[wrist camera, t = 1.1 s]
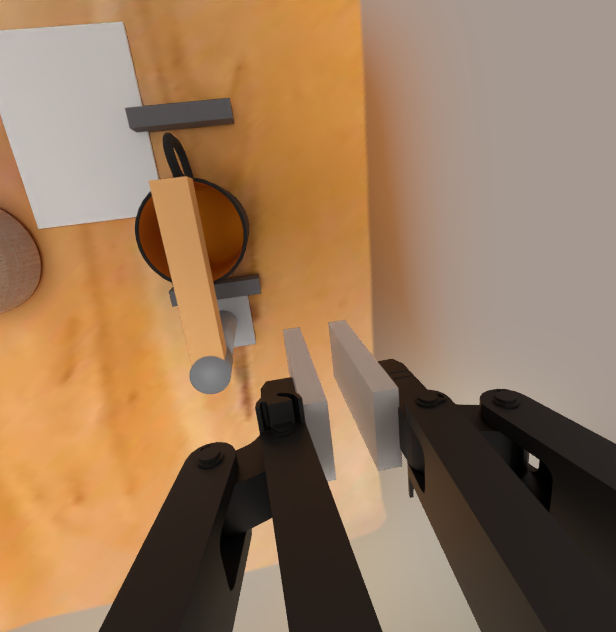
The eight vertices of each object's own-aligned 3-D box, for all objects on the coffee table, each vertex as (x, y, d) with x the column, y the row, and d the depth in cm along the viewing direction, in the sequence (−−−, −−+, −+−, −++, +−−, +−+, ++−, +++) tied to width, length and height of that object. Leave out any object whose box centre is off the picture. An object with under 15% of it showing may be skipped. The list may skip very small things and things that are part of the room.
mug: (224, 135, 36) (213, 109, 26) (258, 256, 39) (259, 273, 30) (139, 155, 35) (95, 136, 25) (181, 275, 39) (157, 299, 29)
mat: (-24, 34, 31) (-28, 32, 30) (124, 23, 32) (122, 21, 32) (40, 228, 36) (38, 228, 35) (166, 213, 37) (166, 213, 36)
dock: (133, 114, 34) (82, 76, 24) (231, 104, 35) (221, 64, 25) (189, 351, 41) (168, 399, 31) (268, 339, 42) (273, 381, 32)
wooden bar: (154, 183, 26) (142, 180, 23) (197, 178, 26) (190, 175, 23) (199, 379, 31) (194, 397, 28) (235, 373, 31) (233, 390, 28)
